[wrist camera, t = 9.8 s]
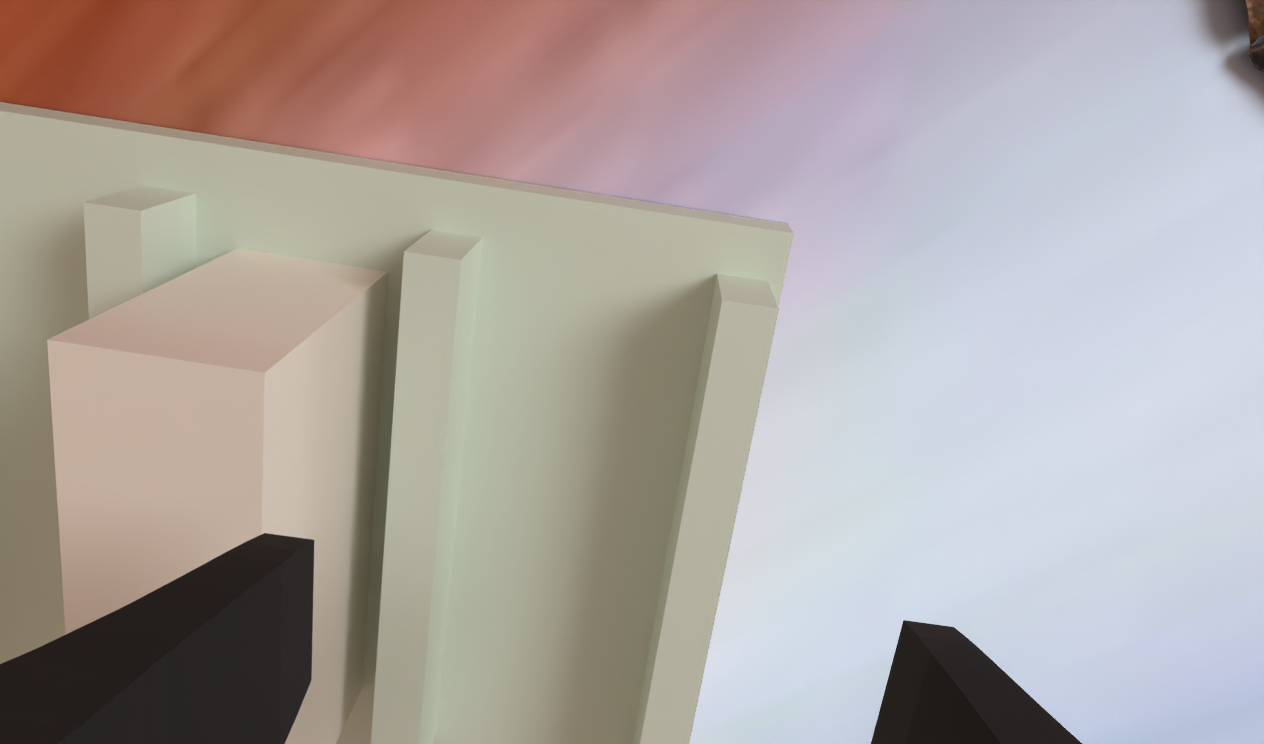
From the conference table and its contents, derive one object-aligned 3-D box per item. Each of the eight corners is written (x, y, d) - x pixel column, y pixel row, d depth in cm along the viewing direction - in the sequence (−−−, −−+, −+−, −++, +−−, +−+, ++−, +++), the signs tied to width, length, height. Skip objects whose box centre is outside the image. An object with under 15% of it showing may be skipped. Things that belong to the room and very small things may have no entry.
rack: (675, 774, 24) (676, 873, 21) (-58, 665, 23) (-158, 751, 21) (787, 223, 19) (808, 255, 16) (-127, 82, 19) (-268, 90, 16)
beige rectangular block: (362, 688, 22) (254, 913, 16) (233, 669, 22) (81, 887, 16) (388, 271, 19) (264, 372, 13) (237, 248, 19) (47, 339, 13)
